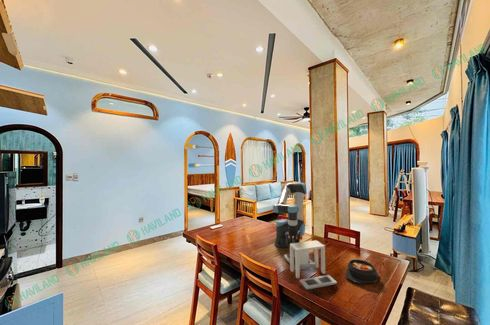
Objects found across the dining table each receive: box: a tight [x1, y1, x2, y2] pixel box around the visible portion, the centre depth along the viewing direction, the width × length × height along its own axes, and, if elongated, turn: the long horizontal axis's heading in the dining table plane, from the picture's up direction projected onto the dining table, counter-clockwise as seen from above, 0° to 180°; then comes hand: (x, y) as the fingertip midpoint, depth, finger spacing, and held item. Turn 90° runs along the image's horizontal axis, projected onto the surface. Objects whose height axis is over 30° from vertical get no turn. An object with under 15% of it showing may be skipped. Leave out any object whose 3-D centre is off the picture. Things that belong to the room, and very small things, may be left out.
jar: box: [294, 250, 310, 265], centre depth 147 cm, size 11×10×15 cm
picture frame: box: [283, 236, 316, 270], centre depth 152 cm, size 21×16×15 cm
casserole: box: [344, 258, 379, 285], centre depth 133 cm, size 25×19×8 cm
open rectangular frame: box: [289, 240, 338, 290], centre depth 134 cm, size 22×22×20 cm
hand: (293, 252), depth 161 cm, fingers closed on picture frame, 3 cm apart
